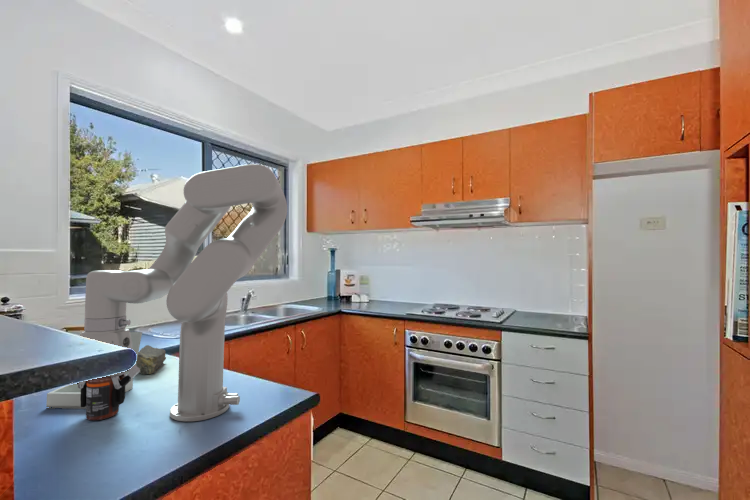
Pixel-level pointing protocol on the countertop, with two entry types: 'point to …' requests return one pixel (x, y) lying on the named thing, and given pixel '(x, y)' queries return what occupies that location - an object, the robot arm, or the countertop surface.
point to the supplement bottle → (100, 399)
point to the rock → (150, 359)
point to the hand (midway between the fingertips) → (102, 404)
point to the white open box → (72, 394)
